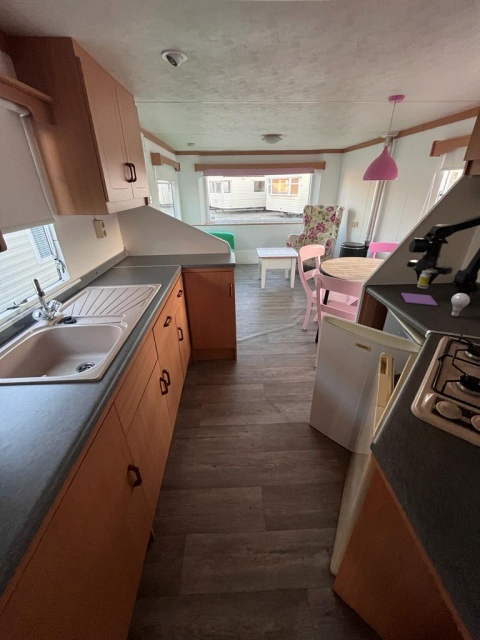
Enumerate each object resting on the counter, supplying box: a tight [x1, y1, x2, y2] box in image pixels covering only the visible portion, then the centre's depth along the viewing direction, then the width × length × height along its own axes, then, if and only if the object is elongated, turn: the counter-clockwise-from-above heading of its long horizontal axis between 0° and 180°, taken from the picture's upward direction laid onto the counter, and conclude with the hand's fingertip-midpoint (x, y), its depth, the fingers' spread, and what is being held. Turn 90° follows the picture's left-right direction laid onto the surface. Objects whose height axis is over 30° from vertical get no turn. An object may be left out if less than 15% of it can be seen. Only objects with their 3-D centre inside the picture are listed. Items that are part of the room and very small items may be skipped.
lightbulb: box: [450, 293, 471, 317], centre depth 118 cm, size 6×6×11 cm
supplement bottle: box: [416, 269, 433, 289], centre depth 135 cm, size 5×5×8 cm
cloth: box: [400, 292, 439, 307], centre depth 139 cm, size 14×14×1 cm
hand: (423, 283), depth 136 cm, fingers closed on supplement bottle, 5 cm apart
